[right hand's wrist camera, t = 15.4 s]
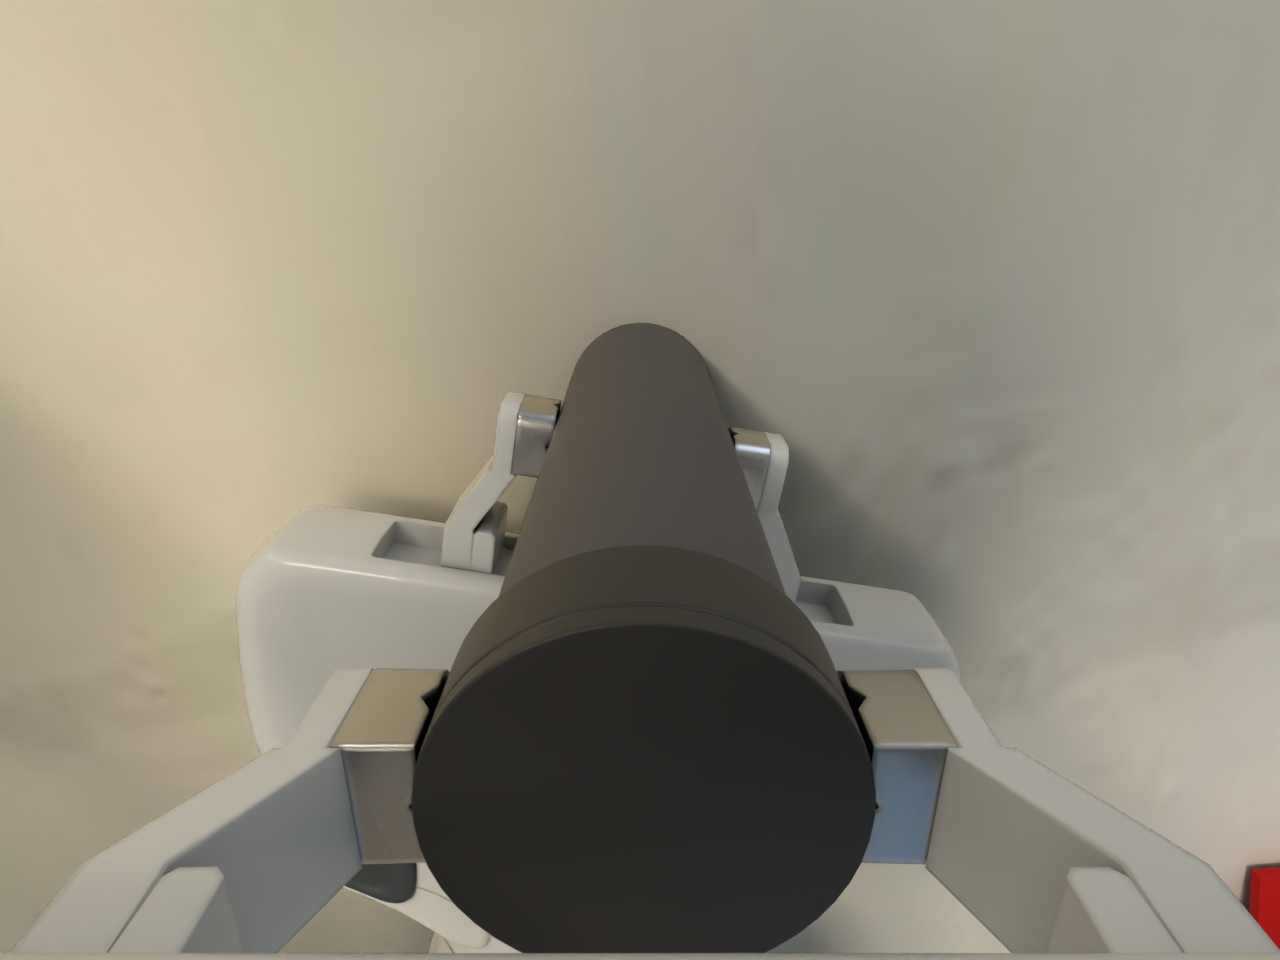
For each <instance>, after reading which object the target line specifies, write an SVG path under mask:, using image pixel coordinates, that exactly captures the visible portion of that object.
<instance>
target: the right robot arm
mask: <svg viewBox="0 0 1280 960" xmlns="http://www.w3.org/2000/svg"><path fill="white" fill-rule="evenodd" d="M449 673H450V672H449V671H448V670H443V669H396V668H376V669H373V668H339V669H337V670H335V671H333V672H332V673H331V675H330V676H329V678H328V680H327V681H326V683H325V684H324V686H323V688H322V689H321V691H320V692H319V694H318V696H317V697H316V699H315V700H314V702H313V704H312V705H311V707H310V708H309V710H308V712H307V713H306V715H305V716H304V718H303V720H302V721H301V723H300V724H299V726H298V727H297V729H296V731H295V732H294V734H293V735H292V737H291V739H290V740H289V742H288V743H287V745H286V747H285V748H273V749H271V750H269V751H268V752H266V753H264V754H263V755H261V756H259V757H258V758H256V759H254V760H253V761H251V762H249V763H248V764H246V765H244V766H243V767H241V768H239V769H238V770H236V771H234V772H233V773H231V774H229V775H228V776H226V777H224V778H223V779H221V780H219V781H218V782H216V783H214V784H213V785H211V786H209V787H208V788H206V789H205V790H203V791H201V792H200V793H198V794H196V795H195V796H193V797H191V798H190V799H188V800H186V801H185V802H183V803H181V804H180V805H178V806H176V807H175V808H173V809H171V810H170V811H168V812H166V813H165V814H163V815H161V816H160V817H158V818H156V819H155V820H153V821H151V822H150V823H148V824H146V825H145V826H143V827H141V828H140V829H138V830H137V831H135V832H133V833H132V834H130V835H128V836H127V837H125V838H123V839H122V840H120V841H118V842H117V843H115V844H113V845H112V846H110V847H108V848H107V849H105V850H103V851H102V852H100V853H98V854H97V855H95V856H93V857H92V858H90V859H88V860H87V861H85V862H83V863H82V864H81V865H80V866H79V868H78V869H77V870H76V871H75V873H74V874H73V875H72V876H71V877H70V879H69V880H68V881H67V882H66V884H65V885H64V886H63V887H62V888H61V890H60V891H59V892H58V893H57V895H56V896H55V897H54V898H53V900H52V901H51V902H50V903H49V904H48V906H47V907H46V908H45V909H44V911H43V912H42V913H41V914H40V915H39V917H38V918H37V919H36V920H35V922H34V923H33V924H32V925H31V926H30V928H29V929H28V930H27V931H26V933H25V934H24V935H23V936H22V938H21V939H20V940H19V941H18V942H17V944H16V945H15V946H14V947H13V949H12V950H11V951H10V952H9V953H0V960H1280V950H1279V948H1278V947H1277V946H1276V945H1275V944H1274V942H1273V941H1272V940H1271V939H1270V937H1269V936H1268V935H1267V934H1266V933H1265V931H1264V930H1263V929H1262V928H1261V927H1260V925H1259V924H1258V923H1257V922H1256V920H1255V919H1254V918H1253V917H1252V916H1251V914H1250V913H1249V912H1248V911H1247V910H1246V908H1245V907H1244V906H1243V905H1242V903H1241V902H1240V901H1239V900H1238V899H1237V897H1236V896H1235V895H1234V894H1233V893H1232V891H1231V890H1230V889H1229V888H1228V886H1227V885H1226V884H1225V883H1224V882H1223V880H1222V879H1221V878H1220V877H1219V876H1218V874H1217V873H1216V872H1215V871H1214V870H1213V868H1212V867H1211V866H1210V865H1209V864H1208V863H1206V862H1204V861H1203V860H1201V859H1199V858H1198V857H1196V856H1194V855H1192V854H1191V853H1189V852H1187V851H1186V850H1184V849H1182V848H1181V847H1179V846H1177V845H1176V844H1174V843H1172V842H1171V841H1169V840H1167V839H1166V838H1164V837H1162V836H1161V835H1159V834H1157V833H1156V832H1154V831H1152V830H1151V829H1149V828H1147V827H1146V826H1144V825H1142V824H1141V823H1139V822H1137V821H1136V820H1134V819H1132V818H1131V817H1129V816H1127V815H1126V814H1124V813H1122V812H1121V811H1119V810H1117V809H1116V808H1114V807H1112V806H1111V805H1109V804H1107V803H1106V802H1104V801H1102V800H1101V799H1099V798H1097V797H1096V796H1094V795H1092V794H1091V793H1089V792H1087V791H1086V790H1084V789H1082V788H1081V787H1079V786H1077V785H1076V784H1074V783H1072V782H1071V781H1069V780H1067V779H1066V778H1064V777H1062V776H1061V775H1059V774H1057V773H1056V772H1054V771H1052V770H1051V769H1049V768H1047V767H1046V766H1044V765H1042V764H1041V763H1039V762H1037V761H1036V760H1034V759H1032V758H1031V757H1029V756H1027V755H1026V754H1024V753H1022V752H1021V751H1019V750H1017V749H1016V748H1003V747H1002V745H1001V744H1000V742H999V741H998V739H997V737H996V736H995V734H994V733H993V731H992V730H991V728H990V727H989V725H988V724H987V722H986V720H985V719H984V717H983V716H982V714H981V713H980V711H979V710H978V708H977V707H976V705H975V703H974V702H973V700H972V699H971V697H970V696H969V694H968V693H967V691H966V690H965V688H964V686H963V685H962V683H961V682H960V680H959V679H958V677H957V676H956V674H955V673H954V671H952V670H951V669H949V668H915V669H910V670H837V674H838V677H839V679H840V682H841V684H842V687H843V689H844V692H845V695H846V697H847V700H848V702H849V705H850V707H851V710H852V712H853V715H854V717H855V720H856V722H857V726H858V728H859V730H860V732H861V735H862V737H863V740H864V742H865V745H866V748H867V751H868V754H869V758H870V761H871V764H872V767H873V773H874V781H875V788H876V805H875V819H874V824H873V828H872V833H871V838H870V842H869V844H868V847H867V849H866V852H865V854H864V857H863V860H862V862H861V863H895V864H926V867H925V868H926V869H927V870H928V871H929V872H930V873H931V874H932V875H933V876H934V877H935V878H936V879H937V880H938V881H939V882H940V883H941V884H942V885H943V886H945V887H946V888H947V889H948V890H949V891H950V892H951V893H952V894H953V895H954V896H955V897H956V898H957V899H958V900H959V901H960V902H961V903H962V904H963V905H964V906H965V907H966V908H967V909H968V910H969V911H970V912H971V913H972V914H973V915H974V916H975V917H976V918H977V919H978V920H979V921H980V922H981V923H982V924H983V925H984V926H985V927H986V928H987V929H988V930H989V931H990V932H991V933H992V934H993V935H994V936H995V937H996V938H997V939H998V940H999V941H1000V942H1001V943H1002V944H1003V945H1004V946H1005V947H1006V948H1007V949H1008V950H1009V951H1010V952H1011V953H277V952H278V951H279V950H280V949H281V948H282V947H283V946H284V945H285V944H286V943H287V942H288V941H289V940H290V939H291V938H292V937H293V936H294V935H295V934H296V933H297V932H298V931H299V930H300V929H301V928H302V927H303V926H304V925H306V924H307V923H308V922H309V921H310V920H311V919H312V918H313V917H314V916H315V915H316V914H317V913H318V912H319V911H320V910H321V909H322V908H323V907H324V906H325V905H326V904H327V903H328V902H329V901H330V900H331V899H332V898H333V897H334V896H335V895H336V894H337V893H338V892H339V891H340V890H341V889H342V888H343V887H344V886H345V885H346V884H347V883H348V882H349V881H350V880H351V879H352V878H353V877H354V876H355V875H356V874H357V873H358V872H359V871H360V870H361V869H362V866H361V864H392V863H426V861H425V859H424V857H423V854H422V852H421V850H420V847H419V844H418V840H417V836H416V832H415V828H414V824H413V815H412V802H411V796H412V784H413V775H414V771H415V767H416V763H417V760H418V756H419V752H420V749H421V747H422V744H423V742H424V739H425V736H426V734H427V732H428V728H429V726H430V723H431V721H432V718H433V715H434V713H435V710H436V707H437V705H438V702H439V700H440V697H441V694H442V692H443V689H444V686H445V684H446V681H447V679H448V676H449Z"/></svg>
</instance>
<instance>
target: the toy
mask: <svg viewBox="0 0 1280 960" xmlns="http://www.w3.org/2000/svg"><path fill="white" fill-rule="evenodd" d="M1249 913H1250V914H1251V916H1252V917H1253V918H1254V919H1255V920H1256V922H1257V923H1258V924H1259V925H1260V927H1261V928H1262V929H1263V930H1264V931H1265V933H1266V934H1267V935H1268V936H1269V937H1270V939H1271V940H1272V941H1273V942H1274V944H1275V945H1276V946H1277V947H1278V948H1279V950H1280V866H1278V867H1267V868H1256V869H1251V879H1250V903H1249Z"/></svg>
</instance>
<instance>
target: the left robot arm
mask: <svg viewBox="0 0 1280 960" xmlns="http://www.w3.org/2000/svg"><path fill="white" fill-rule="evenodd" d="M560 409H561V400H556V399H550V398H544V397H539V396H533V395H527V394H525V393H517V392H507V393H506V395H505V397H504V398H503V400H502V402H501V405H500V410H499V414H498V419H497V426H496V436H495V446H494V455H493V456H492V457H491V458H490V460H489V461H488V462H487V463H486V465H485V466H484V467H483V468H482V470H481V471H480V472H479V473H478V475H477V476H476V477H475V478H474V480H473V481H472V482H471V483H470V485H469V486H468V487H467V488H466V490H465V491H464V492H463V493H462V495H461V496H460V498H459V500H458V502H457V503H456V505H455V507H454V509H453V511H452V512H451V514H450V516H449V518H448V519H447V521H446V523H442V522H435V521H428V520H422V519H415V518H408V517H401V516H395V515H388V514H381V513H375V512H368V511H361V510H354V509H348V508H341V507H335V506H329V505H317V504H315V505H310V506H307V507H305V508H303V509H302V510H300V511H299V512H298V513H296V514H295V515H294V516H293V517H291V518H290V519H289V520H288V521H286V522H285V523H284V524H282V525H281V526H280V527H279V528H278V529H277V530H275V531H274V532H273V533H272V534H271V535H270V536H269V537H268V538H267V539H266V540H265V541H264V542H263V543H262V544H261V545H260V546H259V547H258V549H257V550H256V551H255V552H254V553H253V554H252V555H251V557H250V558H249V560H248V561H247V562H246V564H245V566H244V568H243V570H242V572H241V574H240V577H239V579H238V584H237V594H236V617H237V634H238V647H239V657H240V666H241V673H242V680H243V687H244V694H245V700H246V705H247V711H248V716H249V721H250V725H251V730H252V733H253V736H254V740H255V742H256V745H257V747H258V750H259V752H260V754H261V755H263V754H264V753H266V752H268V751H269V750H271V749H273V748H285V747H286V745H287V743H288V742H289V740H290V739H291V737H292V735H293V734H294V732H295V731H296V729H297V727H298V726H299V724H300V723H301V721H302V720H303V718H304V716H305V715H306V713H307V712H308V710H309V708H310V707H311V705H312V704H313V702H314V700H315V699H316V697H317V696H318V694H319V692H320V691H321V689H322V688H323V686H324V684H325V683H326V681H327V680H328V678H329V676H330V675H331V673H332V672H333V671H335V670H337V669H339V668H373V669H376V668H396V669H443V670H448V671H449V672H450V671H451V668H452V665H453V663H454V660H455V658H456V656H457V654H458V651H459V649H460V647H461V645H462V643H463V640H464V639H465V637H466V636H467V634H468V633H469V631H470V629H471V628H472V626H473V625H474V623H475V622H476V620H477V619H478V618H479V617H480V616H481V615H482V614H483V613H484V611H485V610H486V609H487V608H488V607H489V606H490V605H491V604H492V602H494V601H495V600H496V599H497V598H498V596H499V593H500V590H501V587H502V584H503V581H504V578H505V575H506V572H507V569H508V566H509V563H510V560H511V557H512V554H513V551H514V548H515V546H516V543H517V540H518V537H519V534H516V533H509V532H505V528H506V517H507V505H506V504H505V503H503V502H497V500H498V498H499V497H500V496H501V495H502V493H503V492H504V491H505V490H506V488H507V487H508V486H509V485H510V483H511V482H512V481H513V479H514V478H515V477H516V475H522V476H530V477H539V474H540V471H541V468H542V465H543V462H544V459H545V456H546V453H547V450H548V447H549V444H550V441H551V438H552V435H553V432H554V429H555V426H556V423H557V420H558V417H559V414H560ZM729 433H730V436H731V439H732V442H733V444H734V447H735V450H736V453H737V456H738V459H739V462H740V465H741V467H742V470H743V473H744V476H745V479H746V482H747V485H748V487H749V490H750V493H751V496H752V499H753V502H754V505H755V507H756V510H757V513H758V516H759V519H760V522H761V525H762V528H763V530H764V533H765V536H766V539H767V542H768V545H769V548H770V550H771V553H772V556H773V559H774V562H775V565H776V568H777V571H778V573H779V576H780V579H781V582H782V585H783V588H784V591H785V593H786V596H787V597H789V598H790V599H791V600H792V601H793V602H794V603H795V604H796V605H797V607H798V608H799V609H800V610H801V611H802V612H803V613H804V614H805V615H806V616H807V617H808V619H809V620H810V622H811V623H812V625H813V626H814V627H815V629H816V630H817V632H818V633H819V634H820V636H821V638H822V640H823V642H824V644H825V646H826V648H827V650H828V652H829V654H830V657H831V659H832V662H833V664H834V667H835V669H836V672H837V670H910V669H915V668H949V669H951V670H952V671H954V673H955V674H956V676H957V677H958V679H959V680H960V682H961V673H960V668H959V665H958V662H957V659H956V657H955V655H954V653H953V650H952V648H951V647H950V645H949V643H948V641H947V639H946V637H945V636H944V634H943V632H942V631H941V629H940V628H939V626H938V625H937V623H936V622H935V621H934V619H933V618H932V617H931V615H930V614H929V613H928V611H927V610H926V609H925V607H924V606H923V604H922V603H921V602H920V601H919V600H918V599H917V598H916V597H915V596H914V595H912V594H910V593H908V592H904V591H899V590H893V589H886V588H879V587H873V586H866V585H859V584H852V583H846V582H839V581H832V580H825V579H819V578H812V577H805V576H800V573H799V570H798V567H797V564H796V561H795V558H794V555H793V552H792V549H791V546H790V543H789V540H788V537H787V534H786V531H785V528H784V525H783V522H782V519H781V516H780V514H779V511H778V509H777V508H778V504H779V500H780V496H781V492H782V488H783V484H784V480H785V476H786V472H787V468H788V464H789V447H788V445H787V443H786V441H785V440H784V438H783V436H782V435H779V434H773V433H767V432H761V431H754V430H747V429H740V428H734V427H730V428H729ZM361 866H362V869H361V870H360V871H359V872H358V873H357V874H356V875H355V876H354V877H353V878H352V879H351V880H350V881H349V882H348V883H347V884H346V885H345V886H344V887H343V888H344V889H346V890H349V891H352V892H354V893H357V894H359V895H362V896H364V897H367V898H369V899H371V900H374V901H376V902H378V903H381V904H383V905H385V906H387V907H389V908H391V909H394V910H396V911H398V912H400V913H402V914H404V915H405V916H407V917H409V918H411V919H413V920H415V921H417V922H419V923H420V924H422V925H424V926H425V927H427V928H429V929H430V930H432V931H434V932H435V933H434V935H433V938H432V941H431V945H430V948H429V952H428V953H521V952H519V951H517V950H515V949H513V948H512V947H510V946H508V945H506V944H505V943H503V942H501V941H499V940H497V939H496V938H494V937H493V936H491V935H490V934H489V933H487V932H486V931H484V930H483V929H482V928H480V927H479V926H478V925H476V924H475V923H474V922H473V921H471V920H470V919H469V918H468V917H467V916H466V915H465V914H464V913H463V912H462V911H461V910H460V909H458V908H457V907H456V906H455V904H454V903H453V902H452V901H451V900H450V898H449V897H448V896H447V895H446V894H445V892H444V891H443V890H442V889H441V887H440V886H439V884H438V883H437V881H436V879H435V878H434V876H433V875H432V873H431V871H430V870H429V868H428V866H427V864H426V863H392V864H361Z"/></svg>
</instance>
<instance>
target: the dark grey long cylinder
mask: <svg viewBox="0 0 1280 960" xmlns="http://www.w3.org/2000/svg"><path fill="white" fill-rule="evenodd" d="M629 545H658V546H671V547H677V548H683V549H690V550H695V551H699V552H702V553H706V554H709V555H713V556H716V557H720V558H722V559H725V560H727V561H729V562H732V563H734V564H736V565H739V566H741V567H743V568H746V569H748V570H749V571H751V572H753V573H754V574H756V575H758V576H760V577H761V578H763V579H765V580H766V581H768V582H770V583H771V584H772V585H773V586H775V587H776V588H777V589H779V590H780V591H781V592H782V593H784V594H785V595H786V593H785V591H784V588H783V585H782V582H781V579H780V576H779V573H778V571H777V568H776V565H775V562H774V559H773V556H772V553H771V550H770V548H769V545H768V542H767V539H766V536H765V533H764V530H763V528H762V525H761V522H760V519H759V516H758V513H757V510H756V507H755V505H754V502H753V499H752V496H751V493H750V490H749V487H748V485H747V482H746V479H745V476H744V473H743V470H742V467H741V465H740V462H739V459H738V456H737V453H736V450H735V447H734V444H733V442H732V439H731V436H730V433H729V430H728V427H727V424H726V422H725V419H724V416H723V413H722V410H721V407H720V404H719V401H718V399H717V396H716V393H715V390H714V387H713V384H712V381H711V379H710V376H709V373H708V370H707V367H706V365H705V363H704V361H703V359H702V357H701V355H700V354H699V352H698V351H697V350H696V349H695V347H694V346H693V345H692V344H691V343H690V342H689V341H688V340H686V339H685V338H684V337H683V336H681V335H680V334H678V333H676V332H675V331H672V330H670V329H668V328H666V327H662V326H659V325H655V324H649V323H634V324H627V325H623V326H619V327H616V328H614V329H611V330H609V331H607V332H605V333H604V334H602V335H601V336H599V337H598V338H596V339H595V340H594V341H593V342H592V343H591V344H590V345H589V346H588V347H587V348H586V350H585V351H584V352H583V353H582V355H581V357H580V358H579V360H578V362H577V364H576V367H575V369H574V372H573V375H572V378H571V381H570V384H569V387H568V390H567V393H566V396H565V399H564V402H563V405H562V408H561V411H560V414H559V417H558V420H557V423H556V426H555V429H554V432H553V435H552V438H551V441H550V444H549V447H548V450H547V453H546V456H545V459H544V462H543V465H542V468H541V471H540V474H539V477H538V480H537V483H536V486H535V489H534V492H533V495H532V498H531V501H530V504H529V507H528V510H527V513H526V516H525V519H524V522H523V525H522V528H521V531H520V534H519V537H518V540H517V543H516V546H515V548H514V551H513V554H512V557H511V560H510V563H509V566H508V569H507V572H506V575H505V578H504V581H503V584H502V587H501V590H500V593H499V596H498V597H500V596H501V595H502V594H503V593H504V592H505V591H507V590H508V589H509V588H510V587H511V586H513V585H514V584H516V583H518V582H519V581H521V580H522V579H524V578H525V577H527V576H529V575H530V574H532V573H533V572H535V571H537V570H540V569H542V568H544V567H546V566H548V565H550V564H552V563H555V562H557V561H559V560H562V559H565V558H568V557H571V556H574V555H577V554H580V553H583V552H588V551H593V550H598V549H603V548H608V547H616V546H629Z"/></svg>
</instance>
